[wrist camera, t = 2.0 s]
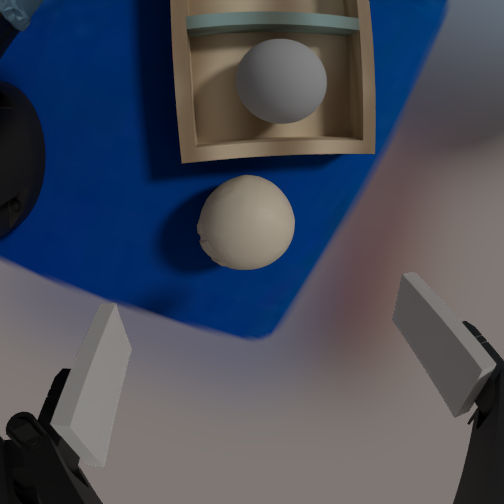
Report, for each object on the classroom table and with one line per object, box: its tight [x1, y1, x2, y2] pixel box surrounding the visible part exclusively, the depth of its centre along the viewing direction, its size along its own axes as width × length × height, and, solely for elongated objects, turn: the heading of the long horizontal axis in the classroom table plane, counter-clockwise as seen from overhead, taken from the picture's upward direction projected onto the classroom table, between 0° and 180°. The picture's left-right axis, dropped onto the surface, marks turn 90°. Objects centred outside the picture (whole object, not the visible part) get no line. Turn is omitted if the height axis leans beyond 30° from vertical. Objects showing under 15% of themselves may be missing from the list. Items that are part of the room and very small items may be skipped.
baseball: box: [197, 175, 295, 270], centre depth 24 cm, size 7×7×7 cm
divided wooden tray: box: [170, 0, 375, 163], centre depth 19 cm, size 14×20×4 cm
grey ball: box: [236, 39, 327, 124], centre depth 19 cm, size 6×6×6 cm
